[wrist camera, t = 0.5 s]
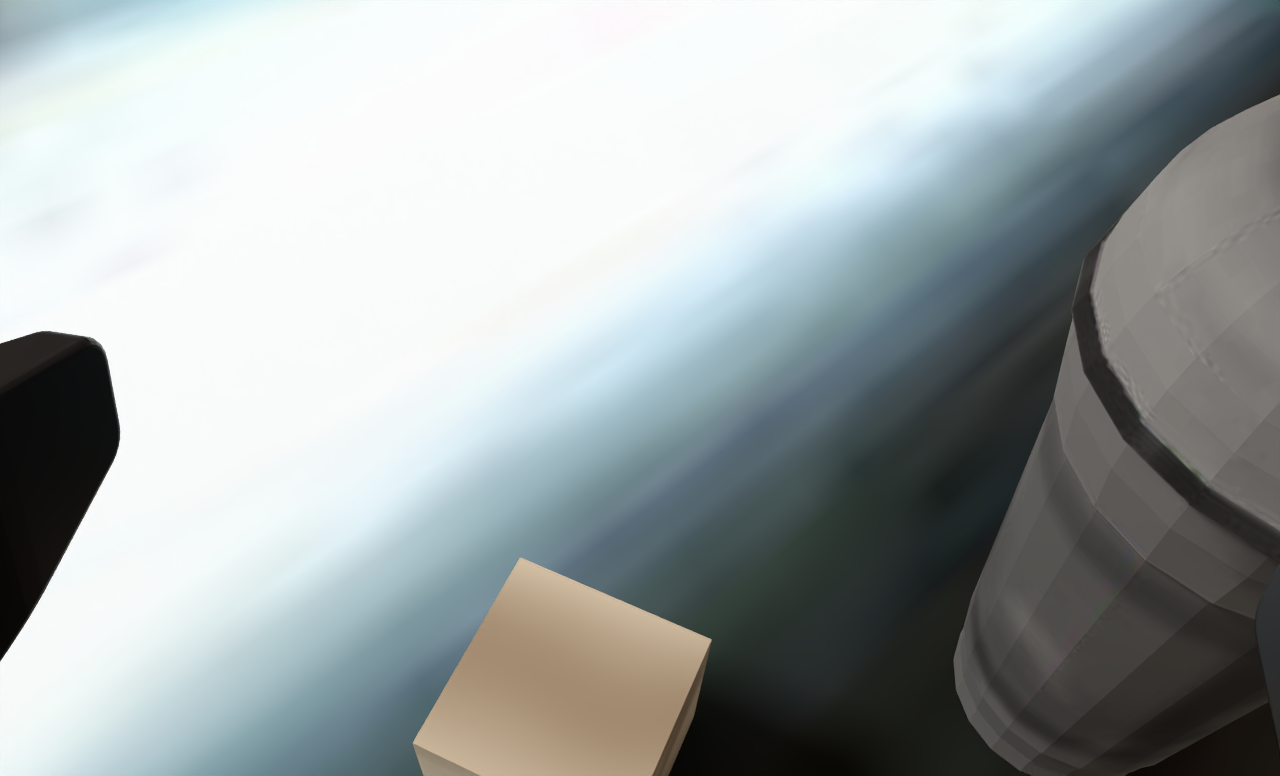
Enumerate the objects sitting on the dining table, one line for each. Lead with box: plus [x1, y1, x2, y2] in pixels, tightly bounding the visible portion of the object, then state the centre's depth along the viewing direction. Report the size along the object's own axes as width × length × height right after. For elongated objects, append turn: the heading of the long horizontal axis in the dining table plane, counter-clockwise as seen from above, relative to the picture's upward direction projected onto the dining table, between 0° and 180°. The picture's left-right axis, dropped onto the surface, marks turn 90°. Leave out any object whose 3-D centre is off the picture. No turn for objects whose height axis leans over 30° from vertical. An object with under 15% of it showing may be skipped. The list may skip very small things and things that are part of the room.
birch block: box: [413, 558, 711, 776], centre depth 22 cm, size 4×4×4 cm
